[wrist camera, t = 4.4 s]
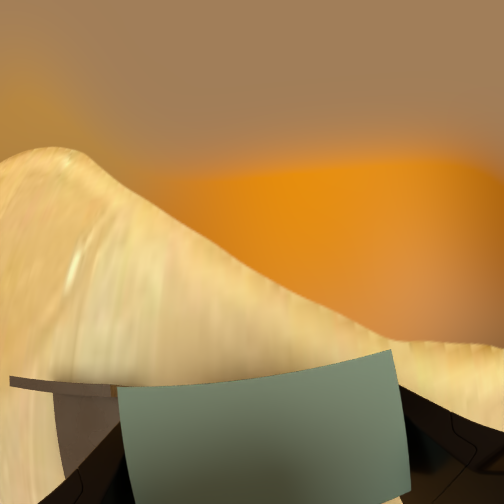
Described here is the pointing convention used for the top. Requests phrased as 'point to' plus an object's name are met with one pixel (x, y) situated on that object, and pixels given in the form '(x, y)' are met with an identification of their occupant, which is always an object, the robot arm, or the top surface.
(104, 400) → the bookend
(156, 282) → the top surface
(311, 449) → the green striped box
